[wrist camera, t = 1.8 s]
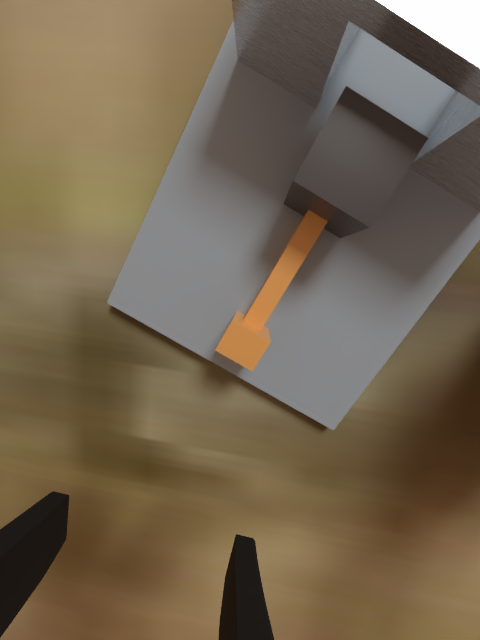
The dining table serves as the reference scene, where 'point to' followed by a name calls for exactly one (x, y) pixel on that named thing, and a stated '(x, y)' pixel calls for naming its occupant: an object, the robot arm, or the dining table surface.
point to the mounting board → (279, 225)
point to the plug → (329, 203)
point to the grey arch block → (397, 33)
